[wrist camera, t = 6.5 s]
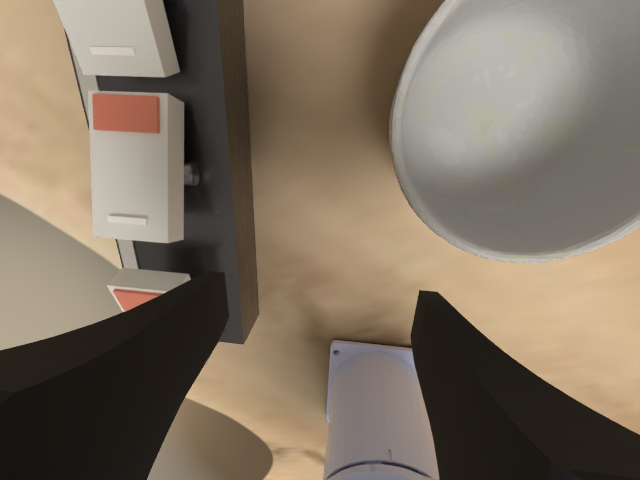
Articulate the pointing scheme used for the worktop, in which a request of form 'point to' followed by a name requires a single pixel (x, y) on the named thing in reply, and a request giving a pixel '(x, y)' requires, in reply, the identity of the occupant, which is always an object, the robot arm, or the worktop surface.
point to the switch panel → (204, 154)
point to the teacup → (522, 126)
